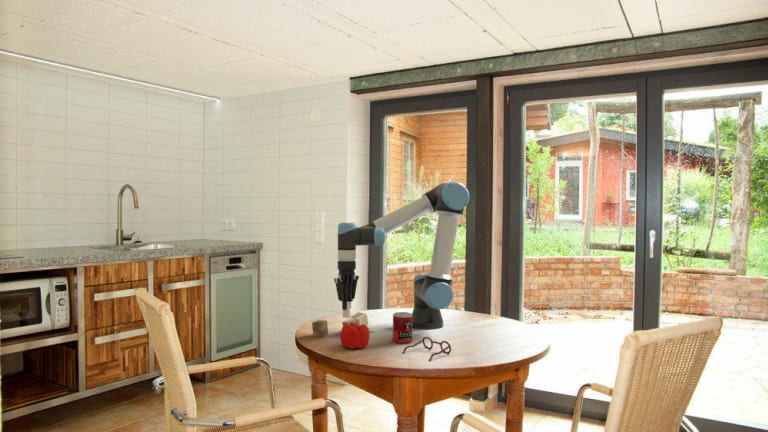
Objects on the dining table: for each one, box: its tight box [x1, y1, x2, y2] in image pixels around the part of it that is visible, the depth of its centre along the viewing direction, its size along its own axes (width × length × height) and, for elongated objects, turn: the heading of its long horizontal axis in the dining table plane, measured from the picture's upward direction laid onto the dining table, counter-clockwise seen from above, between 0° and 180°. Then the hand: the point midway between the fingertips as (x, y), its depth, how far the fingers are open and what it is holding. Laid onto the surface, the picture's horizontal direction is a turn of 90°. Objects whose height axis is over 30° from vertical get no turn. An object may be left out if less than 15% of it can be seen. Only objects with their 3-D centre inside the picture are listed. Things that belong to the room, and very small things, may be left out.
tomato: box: [339, 322, 371, 350], centre depth 195 cm, size 11×12×9 cm
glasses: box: [401, 336, 452, 362], centre depth 188 cm, size 13×13×5 cm
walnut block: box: [311, 319, 329, 338], centre depth 211 cm, size 4×4×6 cm
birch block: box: [341, 311, 369, 327], centre depth 217 cm, size 5×5×10 cm
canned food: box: [392, 311, 413, 345], centre depth 205 cm, size 8×8×11 cm
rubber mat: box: [326, 330, 375, 340], centre depth 215 cm, size 11×19×1 cm, turn 141°
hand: (346, 317), depth 213 cm, fingers closed
